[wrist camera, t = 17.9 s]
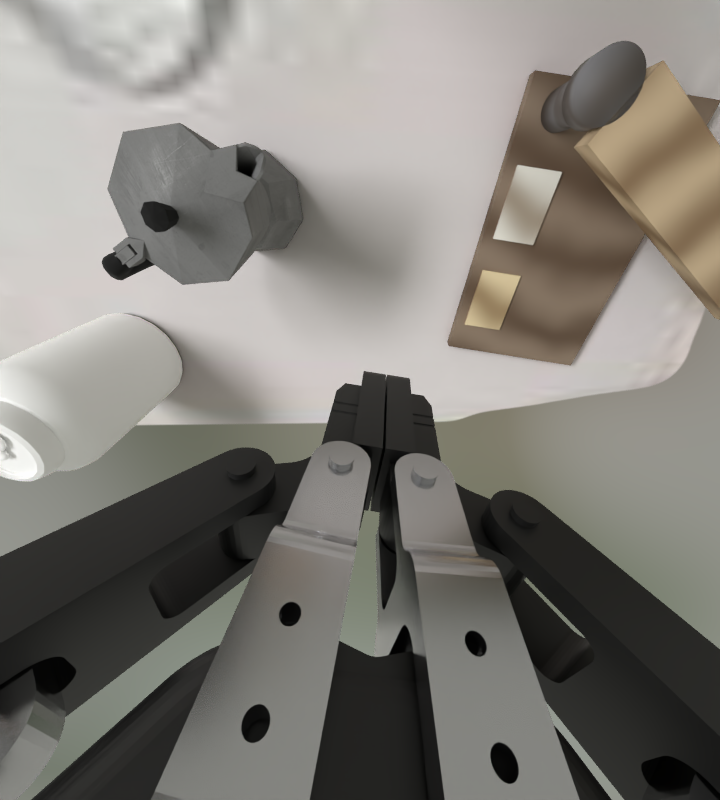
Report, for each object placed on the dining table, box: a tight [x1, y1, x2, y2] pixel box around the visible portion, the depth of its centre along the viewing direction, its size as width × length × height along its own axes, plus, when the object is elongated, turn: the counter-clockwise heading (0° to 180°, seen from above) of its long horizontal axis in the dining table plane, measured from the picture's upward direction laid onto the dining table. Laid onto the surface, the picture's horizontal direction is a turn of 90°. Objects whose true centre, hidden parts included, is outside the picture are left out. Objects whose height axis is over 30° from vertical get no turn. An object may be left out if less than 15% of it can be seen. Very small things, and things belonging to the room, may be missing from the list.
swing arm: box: [562, 41, 720, 320], centre depth 24 cm, size 24×5×2 cm, turn 53°
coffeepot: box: [102, 123, 303, 285], centre depth 26 cm, size 15×9×18 cm, turn 118°
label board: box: [448, 71, 720, 365], centre depth 31 cm, size 24×15×6 cm, turn 172°
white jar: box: [0, 313, 183, 481], centre depth 36 cm, size 12×12×20 cm
